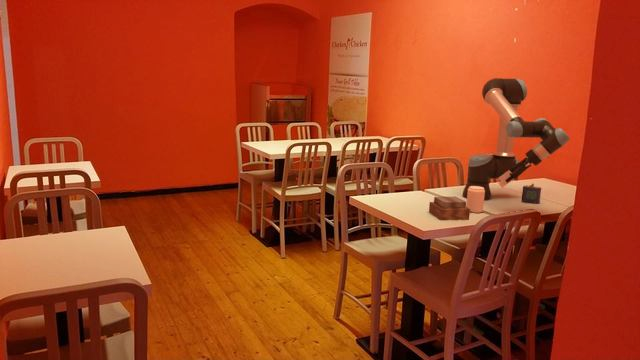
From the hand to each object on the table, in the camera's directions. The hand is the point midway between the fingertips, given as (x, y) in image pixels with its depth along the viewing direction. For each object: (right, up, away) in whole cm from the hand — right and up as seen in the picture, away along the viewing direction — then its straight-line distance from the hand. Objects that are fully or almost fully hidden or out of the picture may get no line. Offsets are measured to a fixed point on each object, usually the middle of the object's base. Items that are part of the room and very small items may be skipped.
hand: (500, 183), depth 252 cm
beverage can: (-11, -14, +6) cm, 19 cm away
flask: (+26, -11, +28) cm, 40 cm away
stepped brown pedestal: (-26, -16, -4) cm, 30 cm away
